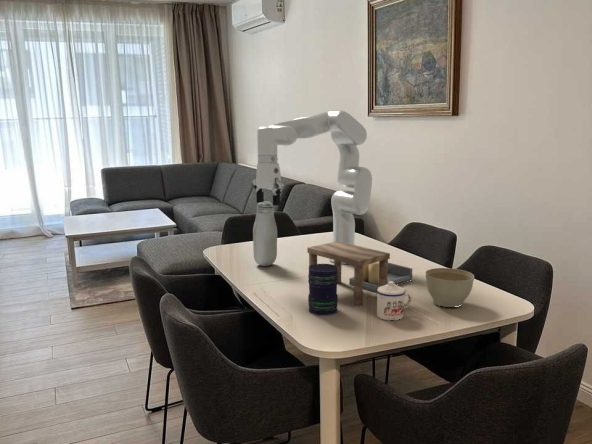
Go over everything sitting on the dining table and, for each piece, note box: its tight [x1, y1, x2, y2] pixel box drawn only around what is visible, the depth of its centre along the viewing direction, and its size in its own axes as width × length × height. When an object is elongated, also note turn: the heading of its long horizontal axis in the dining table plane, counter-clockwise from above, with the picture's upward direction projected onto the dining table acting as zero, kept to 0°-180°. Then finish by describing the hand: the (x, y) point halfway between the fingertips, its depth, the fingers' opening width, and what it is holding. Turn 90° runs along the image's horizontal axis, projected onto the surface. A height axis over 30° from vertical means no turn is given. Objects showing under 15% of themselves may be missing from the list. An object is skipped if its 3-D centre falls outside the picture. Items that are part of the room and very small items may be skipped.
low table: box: [306, 241, 391, 307], centre depth 208 cm, size 16×26×16 cm, turn 41°
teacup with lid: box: [376, 281, 413, 321], centre depth 184 cm, size 12×9×12 cm
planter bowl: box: [425, 267, 475, 308], centre depth 195 cm, size 16×16×11 cm
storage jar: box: [307, 263, 339, 317], centre depth 189 cm, size 10×10×15 cm
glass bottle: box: [252, 200, 278, 267], centre depth 244 cm, size 10×10×28 cm
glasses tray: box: [348, 262, 413, 293], centre depth 220 cm, size 22×13×10 cm, turn 131°
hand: (268, 203), depth 220 cm, fingers open, 9 cm apart
